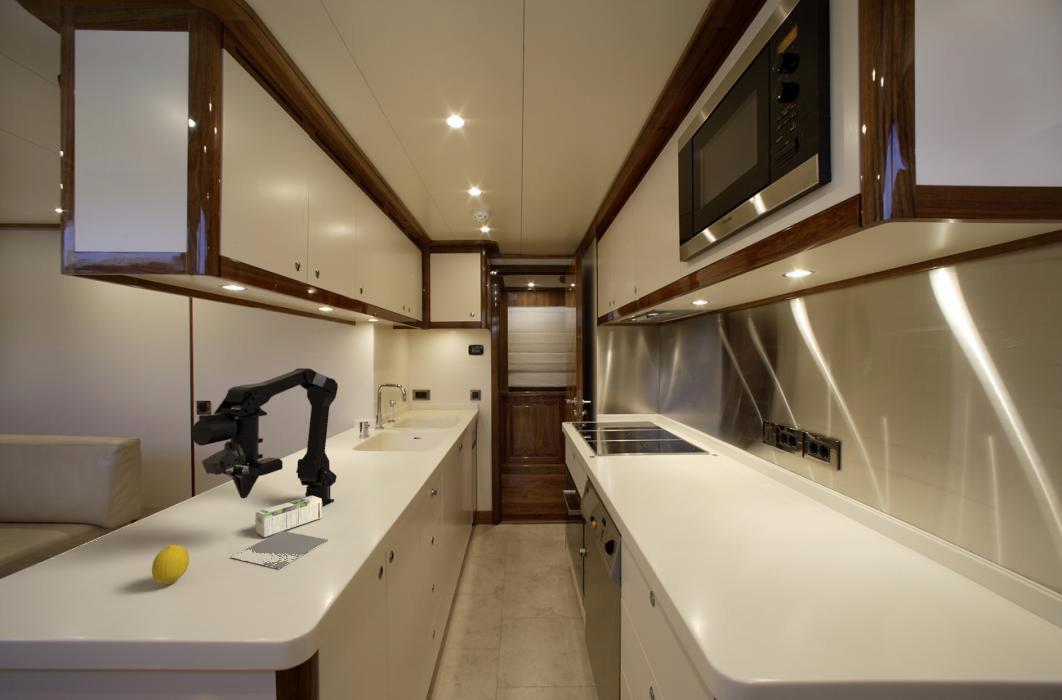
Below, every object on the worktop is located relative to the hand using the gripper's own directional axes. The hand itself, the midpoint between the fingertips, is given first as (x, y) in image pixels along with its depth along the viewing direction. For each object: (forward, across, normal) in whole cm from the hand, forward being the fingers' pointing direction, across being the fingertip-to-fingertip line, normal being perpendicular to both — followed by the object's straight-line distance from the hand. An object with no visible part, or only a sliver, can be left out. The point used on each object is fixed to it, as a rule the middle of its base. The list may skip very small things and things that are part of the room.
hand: (244, 497), depth 94 cm
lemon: (+11, +3, -17) cm, 21 cm away
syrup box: (+8, +1, +3) cm, 9 cm away
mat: (+11, +12, 0) cm, 17 cm away
